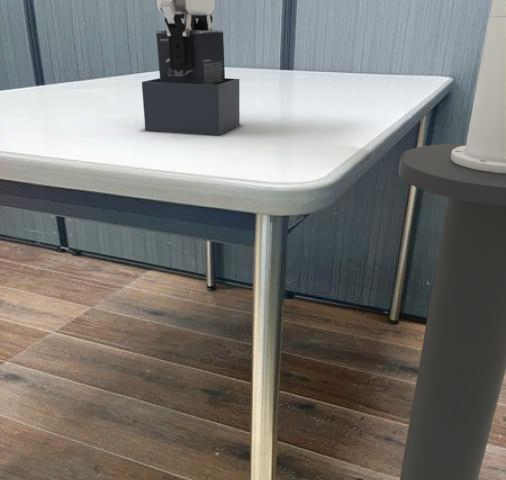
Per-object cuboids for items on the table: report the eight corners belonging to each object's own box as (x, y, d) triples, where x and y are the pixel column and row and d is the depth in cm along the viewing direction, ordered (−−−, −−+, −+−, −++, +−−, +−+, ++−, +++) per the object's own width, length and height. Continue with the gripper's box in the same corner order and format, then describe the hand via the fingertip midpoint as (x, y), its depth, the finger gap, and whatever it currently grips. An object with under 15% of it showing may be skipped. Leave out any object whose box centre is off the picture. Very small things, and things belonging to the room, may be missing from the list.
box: (226, 112, 86) (225, 30, 81) (203, 117, 82) (200, 30, 77) (184, 108, 90) (181, 28, 85) (160, 112, 86) (154, 29, 81)
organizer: (239, 125, 90) (239, 78, 87) (219, 135, 82) (218, 85, 79) (171, 121, 92) (168, 76, 89) (145, 130, 85) (141, 81, 82)
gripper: (184, -77, 83) (190, 63, 91) (127, -96, 68) (140, 72, 77) (235, -78, 81) (236, 64, 90) (187, -99, 66) (194, 74, 75)
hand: (191, 66), depth 83 cm, fingers closed on box, 6 cm apart
